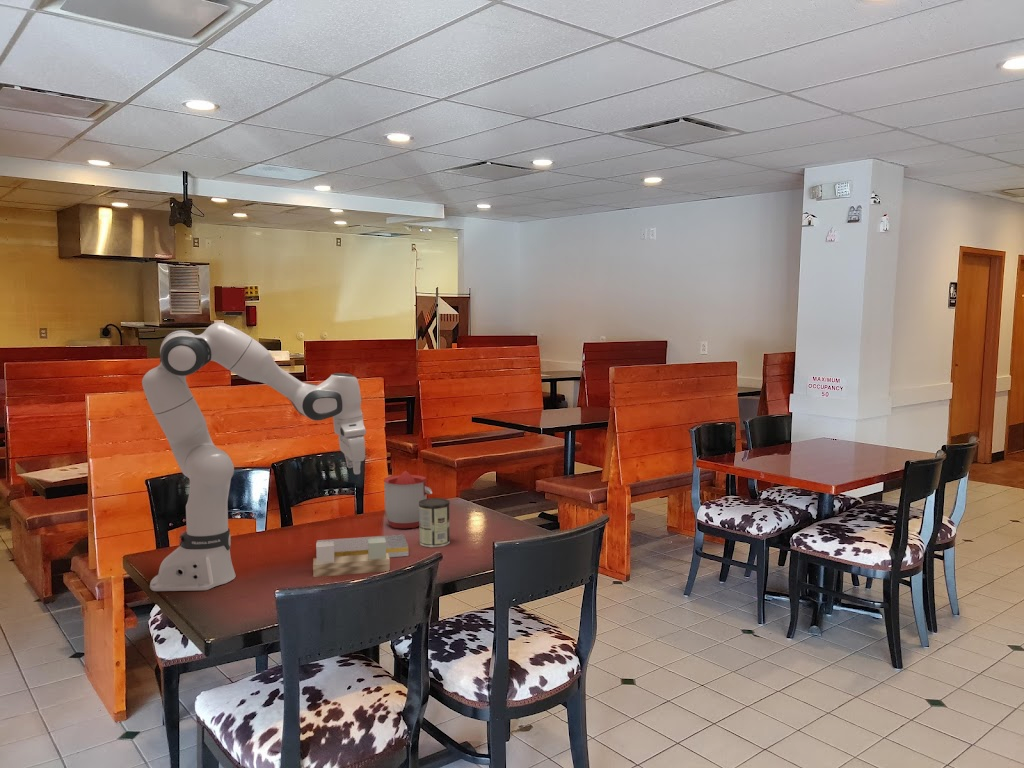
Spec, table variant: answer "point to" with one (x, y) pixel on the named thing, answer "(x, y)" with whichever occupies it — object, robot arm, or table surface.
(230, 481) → the robot arm
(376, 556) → the pale green cube
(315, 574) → the checkered beige brown block
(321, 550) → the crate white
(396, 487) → the citrus juicer
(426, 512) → the coffee can
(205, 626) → the table surface
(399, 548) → the dock
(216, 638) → the table surface
